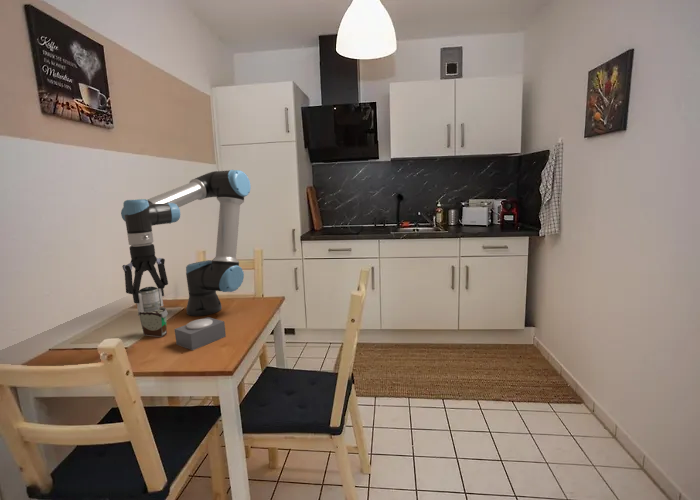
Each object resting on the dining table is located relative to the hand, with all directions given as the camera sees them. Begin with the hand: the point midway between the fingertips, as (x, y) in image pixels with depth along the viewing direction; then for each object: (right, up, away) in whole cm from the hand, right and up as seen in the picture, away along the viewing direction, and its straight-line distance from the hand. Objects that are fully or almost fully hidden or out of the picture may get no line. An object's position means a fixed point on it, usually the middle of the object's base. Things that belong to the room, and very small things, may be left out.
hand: (150, 308), depth 134 cm
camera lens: (0, -1, 0) cm, 1 cm away
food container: (-5, -12, +16) cm, 21 cm away
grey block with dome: (+16, -13, +6) cm, 21 cm away
